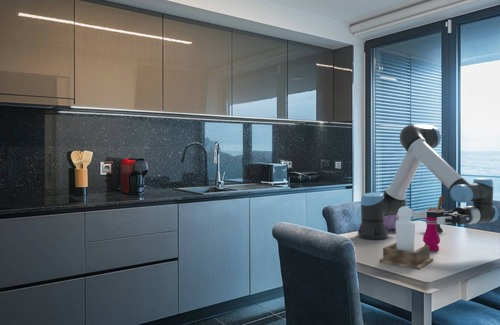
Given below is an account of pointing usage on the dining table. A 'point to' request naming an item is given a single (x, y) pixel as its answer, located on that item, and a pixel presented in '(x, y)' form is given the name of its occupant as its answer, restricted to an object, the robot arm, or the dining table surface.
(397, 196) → the robot arm
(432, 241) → the pepper mill
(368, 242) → the dining table surface
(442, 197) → the mortar and pestle
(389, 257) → the walnut holder
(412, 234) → the white plastic bottle
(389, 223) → the bowl of food
